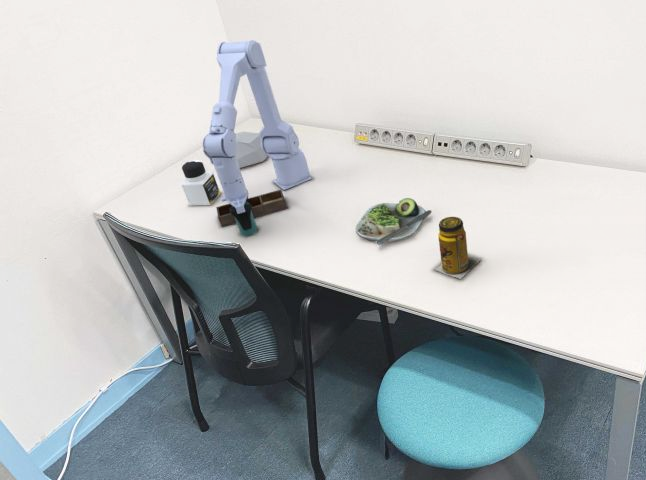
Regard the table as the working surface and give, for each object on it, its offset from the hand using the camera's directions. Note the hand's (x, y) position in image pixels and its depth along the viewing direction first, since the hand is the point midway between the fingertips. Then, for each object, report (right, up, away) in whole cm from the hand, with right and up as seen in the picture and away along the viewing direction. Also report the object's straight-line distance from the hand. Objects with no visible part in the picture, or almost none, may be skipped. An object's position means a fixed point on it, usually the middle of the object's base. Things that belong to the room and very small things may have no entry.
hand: (246, 224), depth 162 cm
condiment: (+54, -12, -24) cm, 61 cm away
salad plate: (+39, -1, -6) cm, 40 cm away
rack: (0, +5, +9) cm, 11 cm away
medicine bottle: (-17, +10, +20) cm, 28 cm away
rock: (-7, +27, +40) cm, 48 cm away
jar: (0, -2, +1) cm, 2 cm away
